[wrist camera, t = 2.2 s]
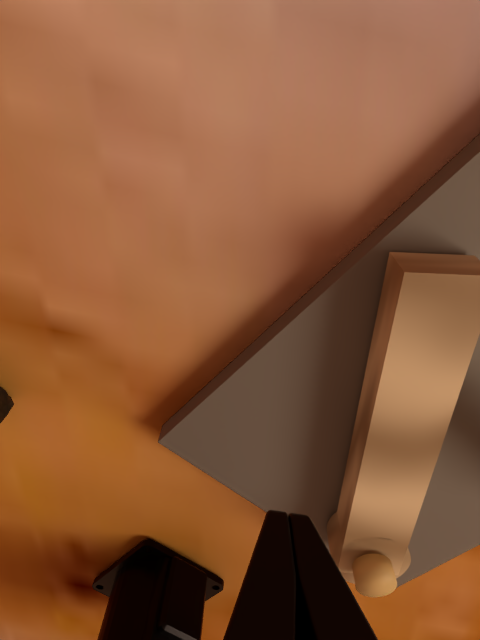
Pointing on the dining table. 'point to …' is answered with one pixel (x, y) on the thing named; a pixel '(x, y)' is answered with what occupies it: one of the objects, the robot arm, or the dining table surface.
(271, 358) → the keeper baseplate
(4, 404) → the hand tool
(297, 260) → the dining table surface
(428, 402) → the birch latch bar
